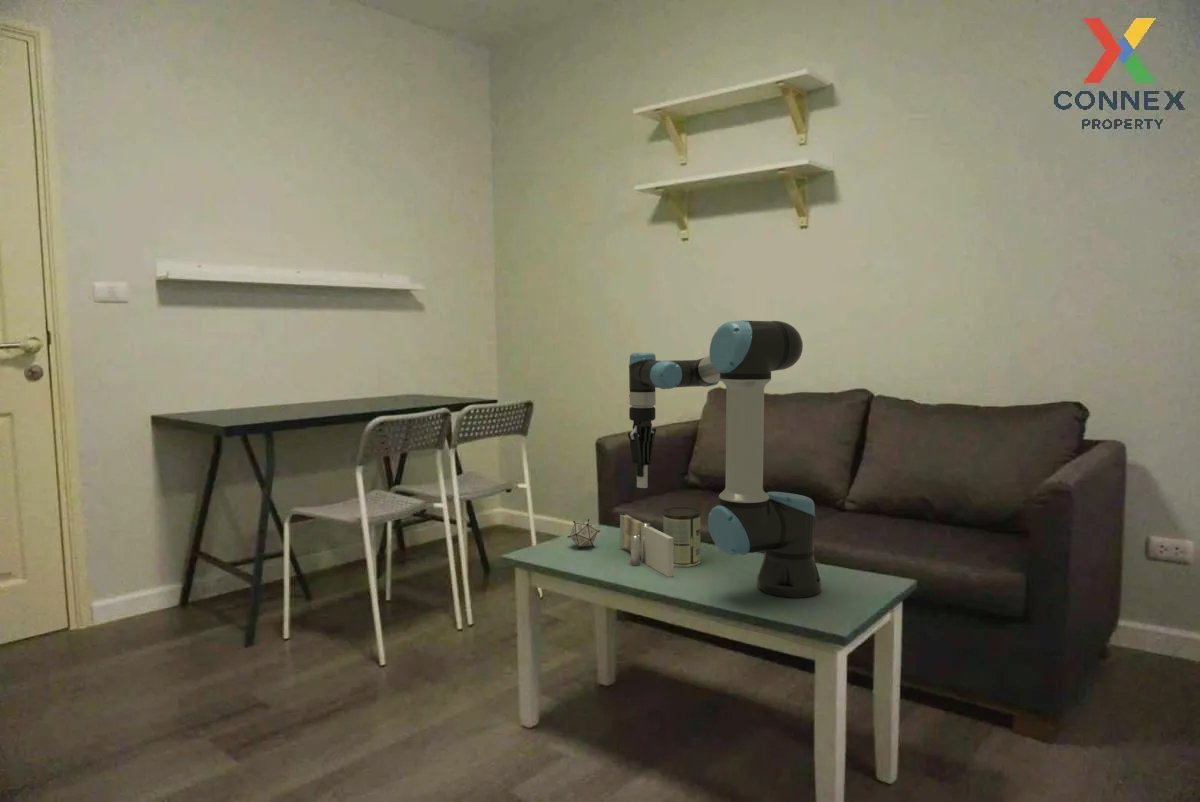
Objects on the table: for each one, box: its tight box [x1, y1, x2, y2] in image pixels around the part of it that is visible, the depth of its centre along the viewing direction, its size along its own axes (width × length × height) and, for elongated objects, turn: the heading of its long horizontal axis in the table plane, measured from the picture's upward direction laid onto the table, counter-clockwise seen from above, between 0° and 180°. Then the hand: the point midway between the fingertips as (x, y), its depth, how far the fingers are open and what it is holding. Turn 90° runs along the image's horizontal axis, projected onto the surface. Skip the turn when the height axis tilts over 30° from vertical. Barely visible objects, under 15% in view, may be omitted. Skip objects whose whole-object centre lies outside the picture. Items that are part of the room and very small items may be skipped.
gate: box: [619, 513, 643, 558], centre depth 217 cm, size 13×2×9 cm, turn 23°
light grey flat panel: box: [644, 526, 674, 578], centre depth 203 cm, size 13×2×10 cm, turn 23°
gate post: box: [640, 522, 651, 564], centre depth 210 cm, size 2×2×10 cm
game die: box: [567, 518, 601, 550], centre depth 225 cm, size 9×8×10 cm
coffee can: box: [662, 506, 702, 568], centre depth 210 cm, size 10×10×14 cm
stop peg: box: [630, 534, 641, 567], centre depth 207 cm, size 2×2×8 cm
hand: (642, 487), depth 224 cm, fingers closed
